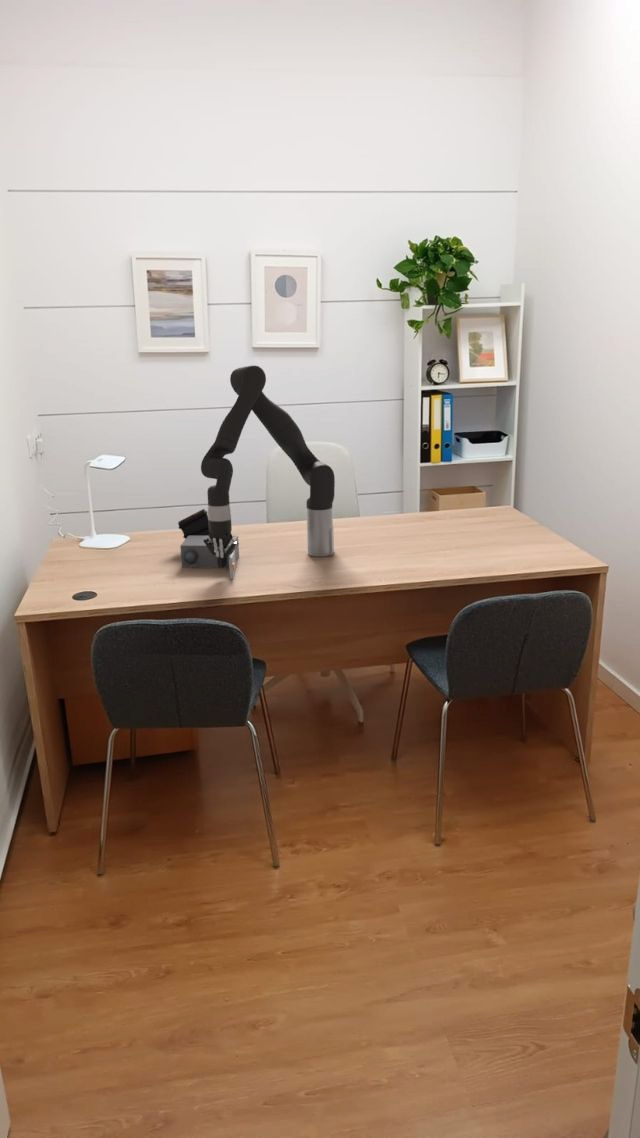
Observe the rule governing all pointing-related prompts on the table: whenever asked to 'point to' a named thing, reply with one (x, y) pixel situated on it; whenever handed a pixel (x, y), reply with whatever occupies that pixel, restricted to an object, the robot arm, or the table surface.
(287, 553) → the table surface
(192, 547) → the camera box
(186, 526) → the black piece
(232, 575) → the side door
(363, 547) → the table surface
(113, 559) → the table surface
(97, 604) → the table surface
